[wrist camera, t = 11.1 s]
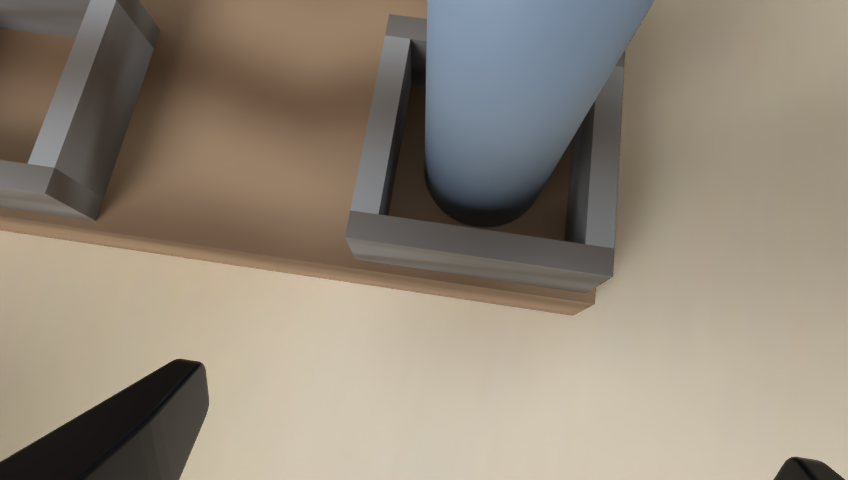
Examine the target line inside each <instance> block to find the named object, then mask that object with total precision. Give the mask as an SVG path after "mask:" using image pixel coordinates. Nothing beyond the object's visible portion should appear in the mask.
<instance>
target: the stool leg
mask: <svg viewBox="0 0 848 480" xmlns="http://www.w3.org/2000/svg"><path fill="white" fill-rule="evenodd" d="M653 2H654V0H427V47H426V106H425V164H424V175H425V181H426V185H427V188H428V191H429V193H430V195H431V197H432V198H433V200H434V202H435V203H436V204H437V205H438V207H439V208H440V209H441V210H442V211H443V212H445V213H446V214H447V215H449V216H450V217H451V218H453V219H455V220H457V221H459V222H461V223H464V224H466V225H471V226H475V227H496V226H501V225H504V224H507V223H510V222H512V221H514V220H516V219H518V218H519V217H521V216H522V215H523V214H524V213H526V212H527V211H528V210H529V209H530V208H531V206H532V205H533V204H534V202H535V201H536V199H537V197H538V196H539V194H540V192H541V191H542V189H543V187H544V186H545V184H546V182H547V180H548V179H549V177H550V175H551V174H552V172H553V170H554V169H555V167H556V165H557V164H558V162H559V160H560V159H561V157H562V155H563V153H564V152H565V150H566V148H567V147H568V145H569V143H570V142H571V140H572V138H573V137H574V135H575V133H576V132H577V130H578V128H579V126H580V125H581V123H582V121H583V120H584V118H585V116H586V115H587V113H588V111H589V110H590V108H591V106H592V105H593V103H594V101H595V99H596V98H597V96H598V94H599V93H600V91H601V89H602V88H603V86H604V84H605V83H606V81H607V79H608V78H609V76H610V74H611V72H612V71H613V69H614V67H615V66H616V64H617V62H618V61H619V59H620V57H621V56H622V54H623V52H624V51H625V49H626V47H627V45H628V44H629V42H630V40H631V39H632V37H633V35H634V34H635V32H636V30H637V29H638V27H639V25H640V24H641V22H642V20H643V18H644V17H645V15H646V13H647V12H648V10H649V8H650V7H651V5H652V3H653Z"/></svg>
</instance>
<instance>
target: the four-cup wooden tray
mask: <svg viewBox="0 0 848 480" xmlns="http://www.w3.org/2000/svg"><path fill="white" fill-rule="evenodd" d="M426 47H427V0H0V230H3V231H10V232H17V233H23V234H30V235H37V236H43V237H50V238H57V239H64V240H70V241H77V242H84V243H90V244H97V245H104V246H111V247H117V248H124V249H131V250H137V251H144V252H151V253H158V254H164V255H171V256H178V257H184V258H191V259H198V260H205V261H211V262H218V263H225V264H231V265H238V266H245V267H252V268H258V269H265V270H272V271H278V272H285V273H292V274H298V275H305V276H312V277H319V278H325V279H332V280H339V281H345V282H352V283H359V284H366V285H372V286H379V287H386V288H392V289H399V290H406V291H413V292H419V293H426V294H433V295H439V296H446V297H453V298H460V299H466V300H473V301H480V302H486V303H493V304H500V305H507V306H513V307H520V308H527V309H533V310H540V311H547V312H554V313H560V314H567V315H575V314H577V313H579V312H581V311H582V310H584V309H586V308H588V307H590V306H592V305H594V304H595V291H596V287H597V286H598V285H600V284H602V283H603V282H605V281H606V280H608V279H610V278H611V277H613V265H614V247H615V228H616V209H617V190H618V171H619V152H620V133H621V115H622V96H623V77H624V58H625V51H624V52H623V54H622V56H621V57H620V59H619V61H618V62H617V64H616V66H615V67H614V69H613V71H612V72H611V74H610V76H609V78H608V79H607V81H606V83H605V84H604V86H603V88H602V89H601V91H600V93H599V94H598V96H597V98H596V99H595V101H594V103H593V105H592V106H591V108H590V110H589V111H588V113H587V115H586V116H585V118H584V120H583V121H582V123H581V125H580V126H579V128H578V130H577V132H576V133H575V135H574V137H573V138H572V140H571V142H570V143H569V145H568V147H567V148H566V150H565V152H564V153H563V155H562V157H561V159H560V160H559V162H558V164H557V165H556V167H555V169H554V170H553V172H552V174H551V175H550V177H549V179H548V180H547V182H546V184H545V186H544V187H543V189H542V191H541V192H540V194H539V196H538V197H537V199H536V201H535V202H534V204H533V205H532V206H531V208H530V209H529V210H528V211H527V212H526V213H524V214H523V215H522V216H521V217H519V218H518V219H516V220H514V221H512V222H510V223H507V224H504V225H501V226H496V227H475V226H471V225H466V224H464V223H461V222H459V221H457V220H455V219H453V218H451V217H450V216H449V215H447V214H446V213H445V212H443V211H442V210H441V209H440V208H439V207H438V205H437V204H436V203H435V202H434V200H433V198H432V197H431V195H430V193H429V191H428V188H427V185H426V181H425V175H424V164H425V106H426Z"/></svg>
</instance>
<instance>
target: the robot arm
mask: <svg viewBox="0 0 848 480" xmlns="http://www.w3.org/2000/svg"><path fill="white" fill-rule="evenodd" d="M208 406H209V395H208V386H207V377H206V370H205V366H204V365H203V363H201V362H198V361H191V360H185V359H176V360H173V361H171V362H170V363H168V364H166V365H165V366H163V367H161V368H159V369H158V370H156V371H154V372H153V373H151V374H149V375H148V376H146V377H144V378H142V379H141V380H139V381H137V382H136V383H134V384H132V385H130V386H129V387H127V388H125V389H124V390H122V391H120V392H119V393H117V394H115V395H113V396H112V397H110V398H108V399H107V400H105V401H103V402H102V403H100V404H98V405H96V406H95V407H93V408H91V409H90V410H88V411H86V412H84V413H83V414H81V415H79V416H78V417H76V418H74V419H73V420H71V421H69V422H67V423H66V424H64V425H62V426H61V427H59V428H57V429H56V430H54V431H52V432H50V433H49V434H47V435H45V436H44V437H42V438H40V439H38V440H37V441H35V442H33V443H32V444H30V445H28V446H27V447H25V448H23V449H21V450H20V451H18V452H16V453H15V454H13V455H11V456H10V457H8V458H6V459H4V460H3V461H1V462H0V480H179V479H180V476H181V474H182V472H183V469H184V467H185V465H186V462H187V460H188V457H189V455H190V453H191V450H192V448H193V446H194V443H195V441H196V438H197V436H198V434H199V431H200V429H201V427H202V424H203V422H204V419H205V417H206V414H207V411H208ZM774 480H845V479H844V478H842V477H841V476H840V475H839V474H837V473H836V472H835V471H834V470H832V469H831V468H830V467H829V466H827V465H826V464H825V463H823V462H821V461H818V460H813V459H807V458H801V457H791V458H789V459H787V460H786V461H785V463H784V464H783V466H782V467H781V469H780V470H779V472H778V473H777V475H776V476H775V478H774Z"/></svg>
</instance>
